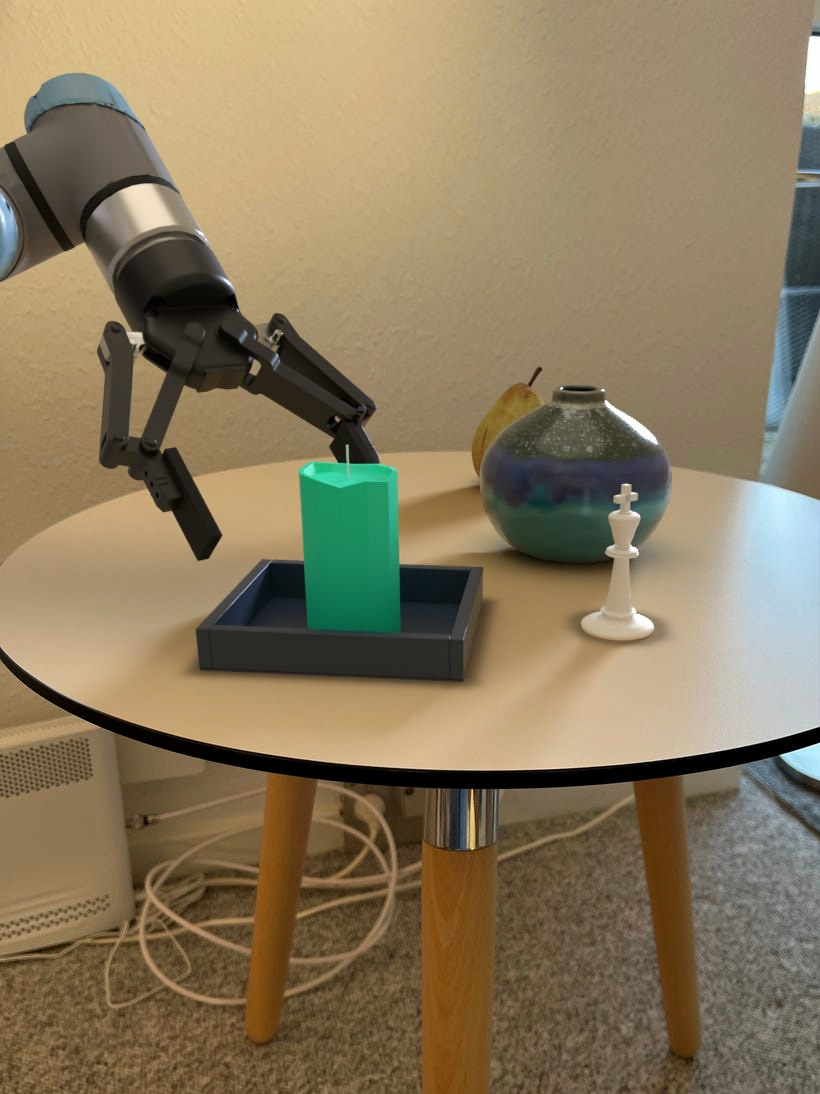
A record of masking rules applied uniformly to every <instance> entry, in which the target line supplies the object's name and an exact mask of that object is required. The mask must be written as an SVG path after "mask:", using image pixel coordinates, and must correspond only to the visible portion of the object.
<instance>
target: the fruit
mask: <svg viewBox="0 0 820 1094" xmlns="http://www.w3.org/2000/svg"><path fill="white" fill-rule="evenodd" d="M542 371H543V367H541V366H537V367H536V369H535V370H534V372H533V374H532V377H531V379H530V380H529V382H528V383H527V384H526V383H523V382H518V383H514V384H512V385H511V386H509V387H508V388H507V389H506V390H505V391H504V392H503V393H502V395H501V396H500V397H499V398H498V399H497V401H496V402H495V403H494V404H493V406H492V407H491V409H489V411H488V412H487V414H485V416H484V417H483V418H482V420H481V421H480V423H479V425H478V427H477V428H476V430H475V432H474V433H475V434H474V436H473V439H472V443H471V461H472V465H473V469H474V471H475V474H476V476H477V478H478V479H479V480H480V467H481V463H482V459H483V456H484V454H485V451H486V449H487V448H488V446H489V444H490V443H491V441H492V440H493V439H494V437H495V436H496V435H497V434H498V433H499V432H500V431H501V430H502V429H503V428H505V427H506V426H507V425H509V424H510V423H512V422H513V421H515V420H516V419H518V418H519V417H521V416H522V415H524V414H526V413H528V412H530V411H531V410H533V409H535V408H537V407H539V406H541V405H543V404H545V403H546V402H545V401H544V399H543V397H542V396H541V394H540V393H539V392H538V391H537V390H536V389H535V388H534V387H532V386H533V384H534V382H535V381H536V380H537V378H538V376H539V375H540V373H541V372H542Z"/></svg>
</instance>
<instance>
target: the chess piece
mask: <svg viewBox="0 0 820 1094" xmlns="http://www.w3.org/2000/svg"><path fill="white" fill-rule="evenodd" d="M631 486H632V485H630V484H622V486H621V495H615V496H614V500H613V503H616V504H620V510H618V511H614V512H612V513H610V514H609V516H608V519H609V523H610V526H611V529H612V535H613V538H614V541H615V544H614V545H613V546H609V547H607V549H606V551H605V554H606V555H608V556H610V557H613V558H614V559H613V565H612V571H611V578H610V583H609V588H608V591H607V592H608V593H607V598H606V601H605V605H603V606H602V607H601V608H600V611H595V612H591V613H589V614H587V615H586V616H584V617H583V618H582V620H580V627H581V629H582V630H583V632H585V633H587V634H588V635H590V636H592V637H595V638H599V639H602V640H603V639H604V640H610V641H621V642H622V641H623V642H624V641H626V642H627V641H636V640H641V639H645V638H647V637H649V636H650V635H652V634H653V632H654V631H655V624H654V623H653V622H652V620H651V619H650V618H648V617H646V616H644V615H641V614H639V613H637V609H635V608H634V607H633V606H632V596H631V595H632V594H631V579H630V559H634V558H637V557H638V556H640V553H639V549H638V547H637V548H635V547H632V545H631V544H630V543H631V541H632V539H633V537H634V534H635V531H636V528H637V526H638V524H639V522H640V515H639V514H637V513H636V512H633V511H631V510H630V502H631V501H636V500H638V493H634V492H631Z"/></svg>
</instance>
